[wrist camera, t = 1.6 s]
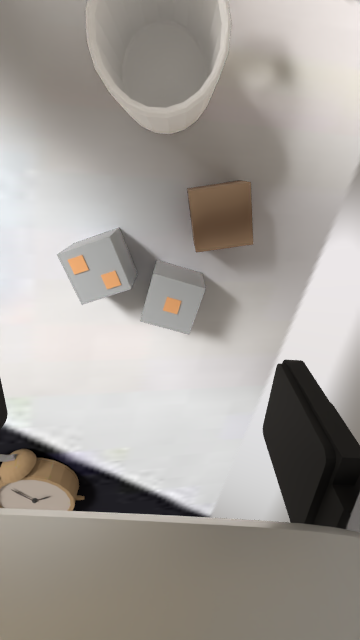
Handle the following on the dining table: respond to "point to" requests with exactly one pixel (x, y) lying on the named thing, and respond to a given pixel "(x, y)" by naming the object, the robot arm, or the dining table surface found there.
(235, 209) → the plain block
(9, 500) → the alarm clock
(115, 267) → the block two
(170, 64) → the mug
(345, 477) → the robot arm
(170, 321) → the block one
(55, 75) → the dining table surface
